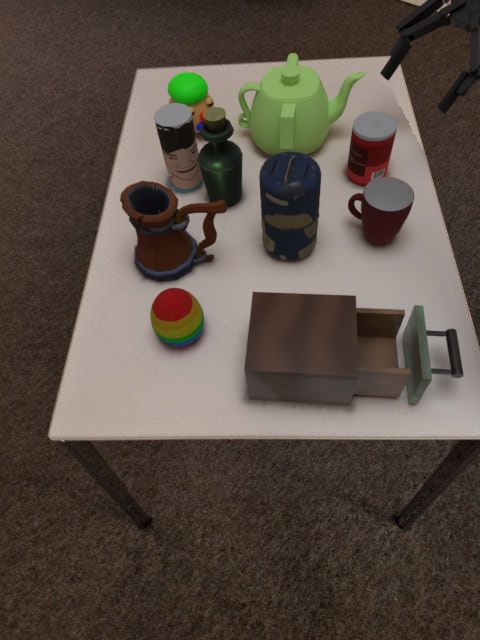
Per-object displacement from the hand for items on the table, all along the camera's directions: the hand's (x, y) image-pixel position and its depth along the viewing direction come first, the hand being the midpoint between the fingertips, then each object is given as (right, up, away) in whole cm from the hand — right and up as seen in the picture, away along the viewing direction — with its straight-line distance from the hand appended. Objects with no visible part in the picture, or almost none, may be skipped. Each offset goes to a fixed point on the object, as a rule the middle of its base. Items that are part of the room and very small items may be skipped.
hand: (411, 93), depth 86 cm
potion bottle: (-33, -16, +8) cm, 38 cm away
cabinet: (-21, -47, -13) cm, 53 cm away
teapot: (-18, -1, +17) cm, 25 cm away
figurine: (-40, +1, +20) cm, 45 cm away
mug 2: (-7, -25, 0) cm, 26 cm away
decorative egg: (-40, -42, -8) cm, 59 cm away
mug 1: (-41, -30, +1) cm, 50 cm away
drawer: (-9, -47, -15) cm, 50 cm away
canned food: (-6, -12, +9) cm, 16 cm away
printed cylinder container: (-41, -12, +12) cm, 45 cm away
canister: (-22, -27, +1) cm, 35 cm away
